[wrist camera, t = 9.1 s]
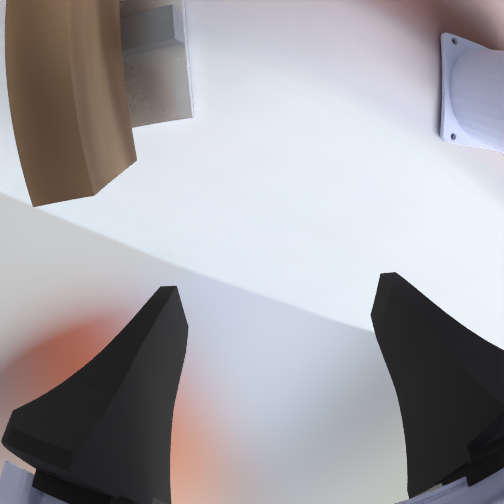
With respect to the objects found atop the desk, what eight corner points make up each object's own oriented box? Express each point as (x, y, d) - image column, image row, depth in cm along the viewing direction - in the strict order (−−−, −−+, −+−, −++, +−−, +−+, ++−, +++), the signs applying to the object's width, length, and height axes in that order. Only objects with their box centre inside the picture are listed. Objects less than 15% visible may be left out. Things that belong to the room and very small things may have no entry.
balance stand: (181, -42, 10) (170, -61, 8) (194, 116, 16) (183, 123, 13) (55, 1, 10) (30, -4, 8) (68, 142, 16) (44, 154, 14)
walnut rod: (120, -63, 7) (79, -96, 3) (137, 160, 14) (94, 195, 10) (66, -41, 7) (16, -60, 3) (83, 170, 14) (33, 207, 10)
